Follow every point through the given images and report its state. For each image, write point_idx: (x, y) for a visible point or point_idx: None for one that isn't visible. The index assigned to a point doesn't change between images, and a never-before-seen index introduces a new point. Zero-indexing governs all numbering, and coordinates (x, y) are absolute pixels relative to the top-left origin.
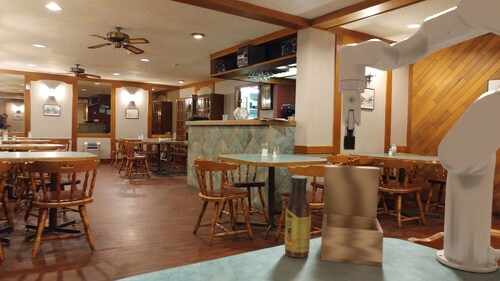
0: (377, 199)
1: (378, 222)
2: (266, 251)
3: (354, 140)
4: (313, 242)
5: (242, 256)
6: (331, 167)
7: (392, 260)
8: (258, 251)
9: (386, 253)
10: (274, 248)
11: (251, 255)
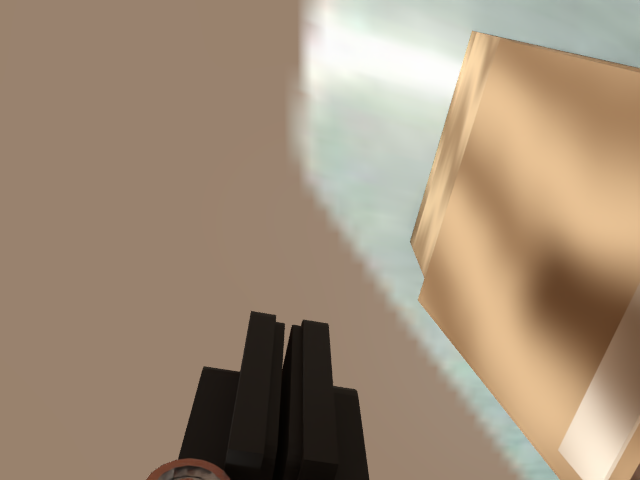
0: (595, 61)
1: (619, 66)
2: (504, 420)
3: (329, 416)
4: (413, 275)
5: (541, 474)
6: (629, 470)
7: (636, 11)
8: (503, 439)
9: (555, 7)
10: (477, 399)
11: (535, 455)
